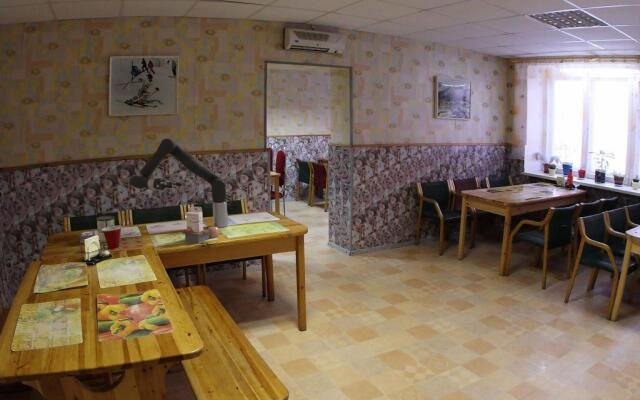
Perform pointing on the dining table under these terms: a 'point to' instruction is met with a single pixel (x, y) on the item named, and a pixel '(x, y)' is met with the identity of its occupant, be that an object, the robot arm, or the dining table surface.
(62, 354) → the dining table surface
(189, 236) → the display podium
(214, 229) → the pinkish brown round piece
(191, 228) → the ink cartridge box
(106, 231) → the plastic cup
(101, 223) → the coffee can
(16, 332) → the dining table surface
